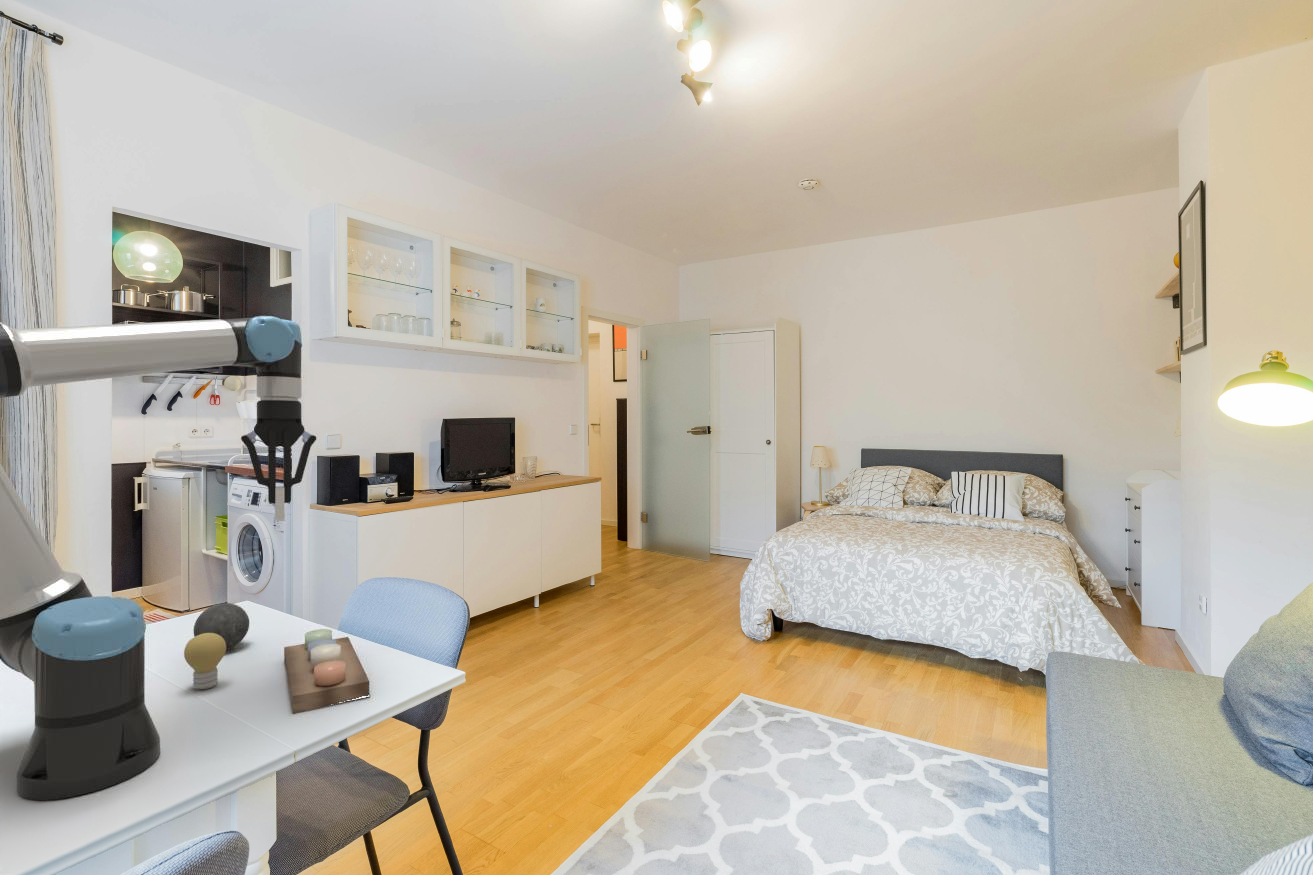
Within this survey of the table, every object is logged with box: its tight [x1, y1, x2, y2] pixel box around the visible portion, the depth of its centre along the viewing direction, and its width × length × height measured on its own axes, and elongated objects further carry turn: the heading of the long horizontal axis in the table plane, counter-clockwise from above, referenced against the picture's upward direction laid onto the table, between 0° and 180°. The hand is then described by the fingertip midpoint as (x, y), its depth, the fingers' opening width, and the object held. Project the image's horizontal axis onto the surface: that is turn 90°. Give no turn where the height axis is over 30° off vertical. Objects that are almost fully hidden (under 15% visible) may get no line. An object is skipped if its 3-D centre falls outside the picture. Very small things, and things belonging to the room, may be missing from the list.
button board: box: [283, 636, 370, 714], centre depth 123 cm, size 12×28×3 cm, turn 33°
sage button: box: [304, 628, 333, 649], centre depth 131 cm, size 5×5×3 cm
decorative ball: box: [193, 602, 250, 651], centre depth 138 cm, size 10×10×10 cm
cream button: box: [311, 644, 341, 667], centre depth 120 cm, size 5×5×3 cm
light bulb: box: [183, 633, 227, 691], centre depth 118 cm, size 6×6×10 cm
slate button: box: [308, 638, 336, 660], centre depth 126 cm, size 5×5×3 cm
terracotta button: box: [314, 661, 345, 686], centre depth 114 cm, size 5×5×3 cm
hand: (279, 519), depth 124 cm, fingers closed
